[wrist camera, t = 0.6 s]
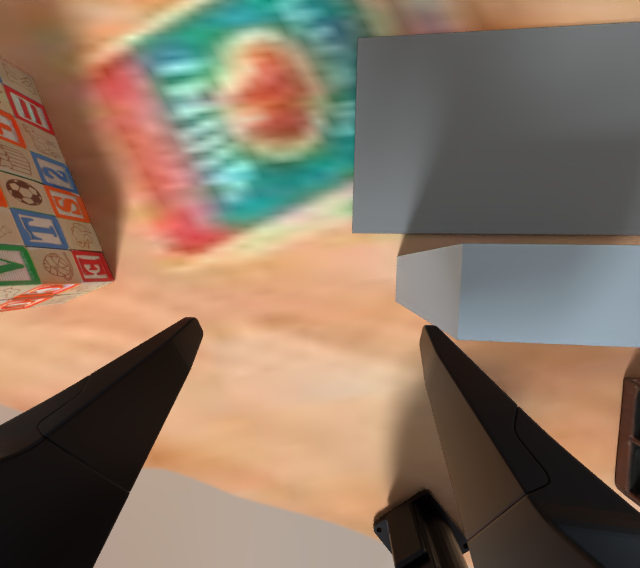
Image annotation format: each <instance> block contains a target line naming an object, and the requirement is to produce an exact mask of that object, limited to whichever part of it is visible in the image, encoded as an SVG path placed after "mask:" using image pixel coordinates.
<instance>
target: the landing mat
mask: <svg viewBox="0 0 640 568" xmlns="http://www.w3.org/2000/svg"><path fill="white" fill-rule="evenodd" d="M352 233H392V234H518V235H640V22H630V23H612V24H595V25H577V26H560V27H542V28H525V29H507V30H490V31H472V32H455V33H437V34H420V35H402V36H385V37H367V38H358V44H357V80H356V116H355V151H354V187H353V223H352Z"/></svg>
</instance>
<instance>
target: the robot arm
mask: <svg viewBox="0 0 640 568" xmlns="http://www.w3.org/2000/svg"><path fill="white" fill-rule="evenodd" d="M202 338H203V330H202V328H201V326H200V324H199V322H198V320H197V319H196V318H195V317H185V318H183V319H182V320H180V321H178V322H177V323H175V324H173V325H172V326H170V327H168V328H167V329H165V330H163V331H162V332H160V333H158V334H157V335H155V336H153V337H152V338H150V339H148V340H147V341H145V342H143V343H142V344H140V345H138V346H137V347H135V348H133V349H132V350H130V351H128V352H127V353H125V354H123V355H122V356H120V357H118V358H117V359H115V360H114V361H112V362H110V363H109V364H107V365H105V366H104V367H102V368H100V369H99V370H97V371H95V372H94V373H92V374H91V375H90V376H87V377H85V378H84V379H82V380H80V381H79V382H77V383H75V384H74V385H72V386H70V387H68V388H67V389H65V390H63V391H62V392H60V393H58V394H56V395H55V396H53V397H51V398H49V399H47V400H46V401H44V402H42V403H40V404H38V405H37V406H35V407H33V408H31V409H29V410H27V411H26V412H24V413H22V414H20V415H18V416H16V417H15V418H13V419H11V420H9V421H7V422H5V423H3V424H2V425H0V568H93V567H94V564H95V563H96V560H97V558H98V556H99V554H100V552H101V550H102V548H103V546H104V544H105V542H106V540H107V538H108V536H109V534H110V532H111V530H112V528H113V526H114V524H115V522H116V520H117V518H118V516H119V513H120V512H121V510H122V508H123V506H124V504H125V502H126V500H127V498H128V496H129V492H130V491H131V489H132V487H133V485H134V483H135V481H136V479H137V477H138V475H139V473H140V471H141V469H142V467H143V465H144V463H145V461H146V459H147V457H148V455H149V453H150V451H151V449H152V447H153V445H154V443H155V441H156V439H157V437H158V435H159V433H160V431H161V429H162V427H163V425H164V422H165V420H166V418H167V416H168V414H169V412H170V410H171V408H172V406H173V404H174V402H175V400H176V398H177V396H178V394H179V392H180V390H181V388H182V386H183V384H184V382H185V380H186V378H187V376H188V374H189V372H190V369H191V367H192V365H193V362H194V359H195V357H196V354H197V351H198V349H199V346H200V343H201V340H202ZM420 351H421V358H422V365H423V372H424V379H425V385H426V389H427V393H428V397H429V401H430V405H431V408H432V412H433V416H434V420H435V423H436V427H437V431H438V434H439V438H440V442H441V446H442V449H443V453H444V457H445V461H446V464H447V468H448V472H449V475H450V479H451V483H452V487H453V490H454V494H455V498H456V502H457V505H458V509H459V513H460V516H461V520H462V524H463V528H464V531H465V534H464V533H463V531H462V530H461V529H460V528H459V526H458V525H457V524H456V523H455V521H454V520H453V519H452V518H451V516H450V515H449V514H448V513H447V511H446V510H445V509H444V508H443V507H442V505H441V504H440V503H439V502H438V500H437V499H436V498H435V497H434V495H433V494H432V493H431V492H430V491H429V490H423V491H421V492H420V493H418V494H417V495H415V496H413V497H412V498H410V499H409V500H407V501H406V502H404V503H403V504H401V505H400V506H398V507H396V508H395V509H393V510H392V511H390V512H389V513H387V514H386V515H384V516H383V517H381V518H380V519H378V520H376V521H375V522H374V524H373V528H374V532H375V534H376V535H377V536H378V537H379V539H380V540H381V541H382V542H383V544H384V545H385V546H386V547H387V548H388V550H389V551H390V552H391V554H392V555H393V560H394V566H395V568H468V566H467V564H466V561H465V559H464V557H463V554H464V553H466V552H467V551H469V550H470V554H471V558H472V562H473V565H474V568H640V513H639V512H638V511H637V510H636V509H635V508H633V507H632V506H631V505H630V504H629V503H627V502H626V501H625V500H624V499H623V498H622V497H620V496H619V495H618V494H617V493H616V492H614V491H613V490H612V489H611V488H610V487H609V486H607V485H606V484H605V483H604V482H603V481H602V480H600V479H599V478H598V477H597V476H596V475H595V474H593V473H592V472H591V471H590V470H589V469H588V468H586V467H585V466H584V465H583V464H582V463H580V462H579V461H578V460H577V459H576V458H575V457H573V456H572V455H571V454H570V453H569V452H568V451H567V450H565V449H564V448H563V447H562V446H561V445H560V444H559V443H557V442H556V441H555V440H554V439H553V438H552V437H551V436H550V435H548V434H547V433H546V432H545V431H544V430H543V429H542V428H541V427H540V426H539V425H538V424H537V423H536V422H535V421H534V420H533V419H531V418H530V417H529V416H528V415H527V414H526V413H525V412H524V411H523V410H522V409H521V408H520V407H517V404H516V403H515V402H514V401H513V400H512V399H511V398H510V397H509V396H508V395H507V394H506V393H505V392H504V391H503V390H502V389H501V388H500V387H499V386H497V385H496V384H495V383H494V382H493V381H492V380H491V379H490V378H489V377H488V376H487V375H486V374H485V373H484V372H483V371H482V370H481V369H480V368H479V367H478V366H477V365H476V364H475V363H474V362H473V361H472V360H471V359H470V358H469V357H468V356H467V355H466V354H465V353H464V352H463V351H462V350H461V349H460V348H459V347H458V346H457V345H456V344H454V343H453V342H452V341H451V340H450V339H449V338H448V337H447V336H446V335H445V334H444V333H443V332H442V331H441V330H440V329H439V328H438V327H437V326H435V325H425V326H424V327H423V329H422V333H421V338H420ZM426 496H428V497H426ZM378 527H380V528H378Z"/></svg>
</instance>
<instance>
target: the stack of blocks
mask: <svg viewBox="0 0 640 568" xmlns="http://www.w3.org/2000/svg"><path fill="white" fill-rule="evenodd" d="M113 281H114V279H113V277H112V274H111V272H110V270H109V267H108V265H107V263H106V260H105V258H104V255H103V254H102V248H101V245H100V243H99V241H98V238H97V236H96V233H95V231H94V229H93V227H92V225H91V222H90V219H89V216H88V214H87V211H86V209H85V206H84V204H83V201H82V199H81V196H80V195H79V194H78V191H77V188H76V186H75V184H74V181H73V179H72V176H71V174H70V171H69V169H68V167H67V166H66V162H65V160H64V157H63V155H62V153H61V150H60V148H59V145H58V143H57V140H56V138H55V134H54V131H53V129H52V126H51V124H50V122H49V119H48V117H47V114H46V112H45V109H44V107H43V104H42V101H41V99H40V96H39V94H38V91H37V89H36V87H35V84H34V82H33V79H32V77H31V76H30V75H29V74H27V73H25V72H24V71H22V70H21V69H19V68H17V67H15V66H14V65H12V64H11V63H9V62H7V61H6V60H4V59H3V58H1V57H0V312H3V311H11V310H18V309H25V308H32V307H39V306H46V305H54V304H61V303H66V302H68V301H70V300H73V299H75V298H77V297H79V296H82V295H84V294H87V293H88V292H92V291H94V290H97V289H99V288H101V287H103V286H106V285H108V284H110V283H112V282H113Z"/></svg>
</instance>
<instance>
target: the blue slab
mask: <svg viewBox="0 0 640 568" xmlns="http://www.w3.org/2000/svg"><path fill="white" fill-rule="evenodd" d="M395 301H396V302H397V303H399V304H401V305H402V306H404V307H405V308H407V309H409V310H410V311H412V312H413V313H415V314H417V315H418V316H420V317H422V318H423V319H425V320H426V321H428V322H430V323H431V324H433V325H435V326H437V327H438V328H439V329H441V330H442V331H444V332H446V333H447V334H449V335H451V336H452V337H454V338H455V339H457V340H474V341H498V342H522V343H546V344H570V345H593V346H617V347H640V245H571V244H480V243H462V244H457V245H452V246H447V247H442V248H437V249H432V250H427V251H422V252H417V253H412V254H407V255H402V256H397V275H396V300H395Z"/></svg>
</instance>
